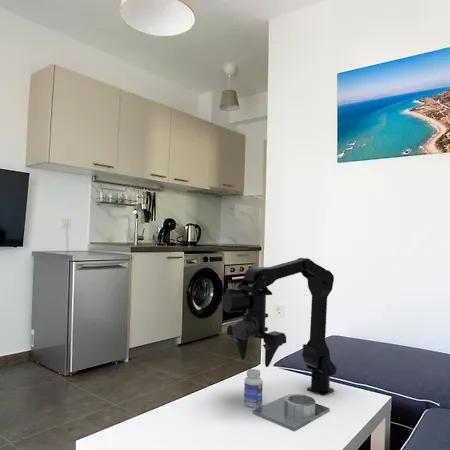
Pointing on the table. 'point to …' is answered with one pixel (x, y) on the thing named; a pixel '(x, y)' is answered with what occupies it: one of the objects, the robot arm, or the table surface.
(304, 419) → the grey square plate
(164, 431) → the table surface
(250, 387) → the pill bottle
